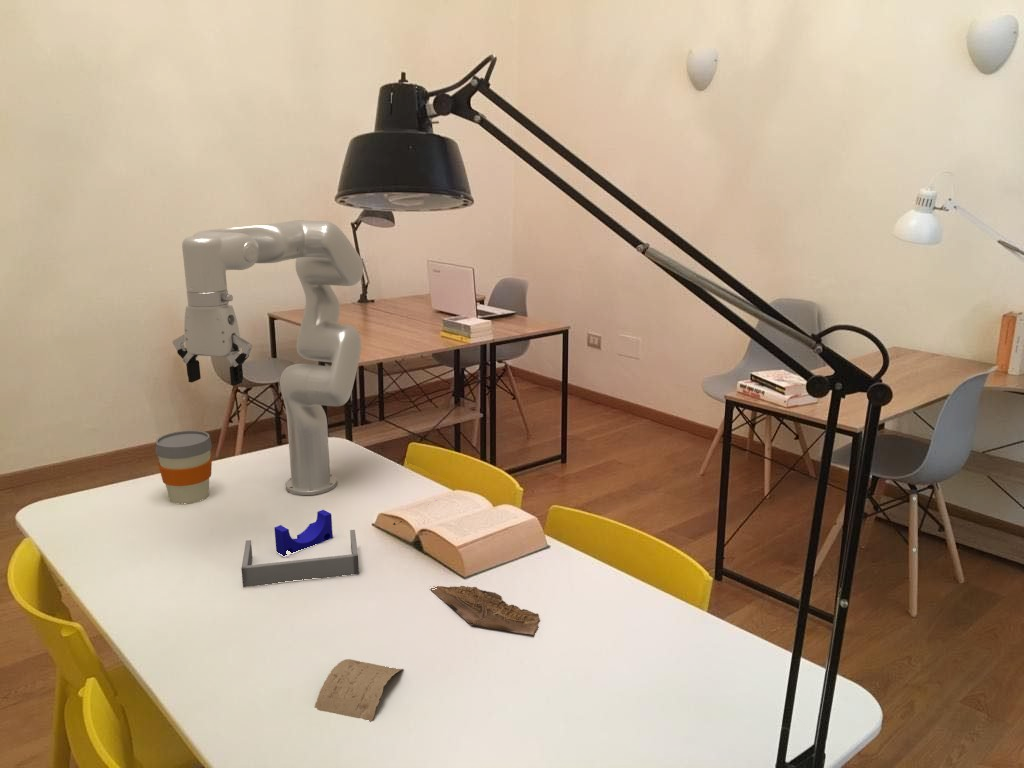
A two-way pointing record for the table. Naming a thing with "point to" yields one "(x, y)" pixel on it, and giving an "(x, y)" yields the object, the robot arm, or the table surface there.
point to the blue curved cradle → (305, 534)
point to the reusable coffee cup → (185, 465)
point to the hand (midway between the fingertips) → (215, 382)
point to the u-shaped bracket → (298, 567)
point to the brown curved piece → (354, 689)
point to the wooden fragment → (488, 609)
